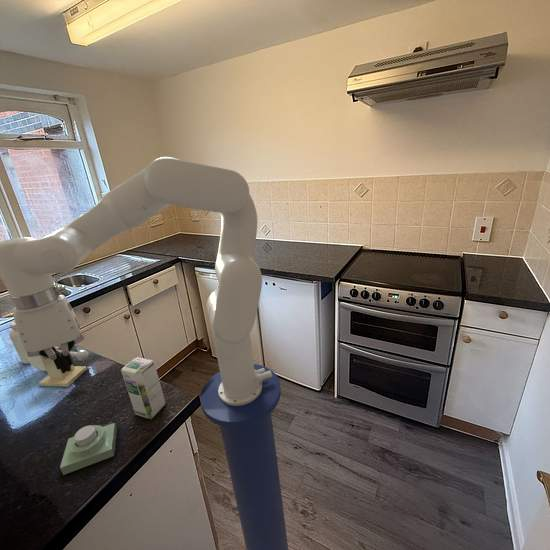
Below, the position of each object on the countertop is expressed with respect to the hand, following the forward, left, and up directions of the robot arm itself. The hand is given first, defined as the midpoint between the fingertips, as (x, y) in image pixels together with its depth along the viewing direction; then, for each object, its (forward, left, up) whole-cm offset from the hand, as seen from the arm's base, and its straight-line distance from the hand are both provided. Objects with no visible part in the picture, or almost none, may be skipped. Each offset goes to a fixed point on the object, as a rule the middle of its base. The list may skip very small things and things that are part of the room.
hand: (67, 368), depth 69 cm
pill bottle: (+25, -46, -18) cm, 56 cm away
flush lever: (+8, -25, -11) cm, 28 cm away
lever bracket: (+12, -27, -18) cm, 35 cm away
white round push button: (-1, +8, -15) cm, 17 cm away
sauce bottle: (+18, -35, -18) cm, 44 cm away
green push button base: (-1, +8, -18) cm, 20 cm away
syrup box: (-14, +1, -18) cm, 23 cm away
